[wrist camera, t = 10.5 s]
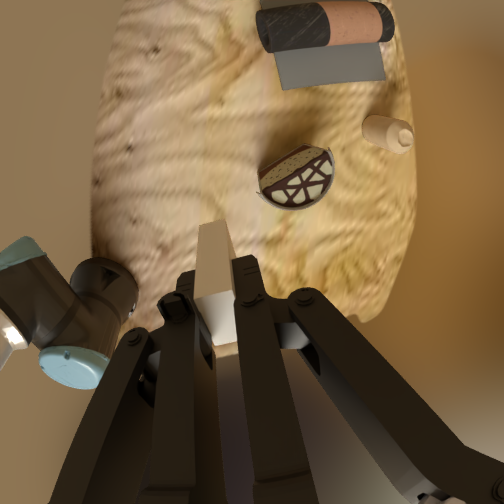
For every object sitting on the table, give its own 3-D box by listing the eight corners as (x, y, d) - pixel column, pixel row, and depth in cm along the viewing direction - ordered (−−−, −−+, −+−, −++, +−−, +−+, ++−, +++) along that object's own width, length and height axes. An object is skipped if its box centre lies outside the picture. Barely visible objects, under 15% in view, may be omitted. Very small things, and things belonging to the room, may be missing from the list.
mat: (282, 90, 41) (283, 90, 41) (257, -7, 32) (258, -8, 32) (384, 80, 41) (385, 80, 41) (363, -9, 32) (364, -10, 31)
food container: (268, 205, 51) (280, 230, 42) (249, 177, 48) (257, 196, 39) (327, 168, 49) (351, 185, 40) (311, 138, 46) (333, 149, 37)
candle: (363, 145, 47) (393, 158, 38) (359, 116, 44) (389, 123, 36) (388, 141, 47) (420, 153, 38) (385, 113, 44) (417, 119, 36)
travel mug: (275, 48, 31) (400, 38, 30) (259, 1, 27) (385, -4, 27) (266, 59, 38) (376, 46, 37) (252, 18, 34) (364, 8, 34)
